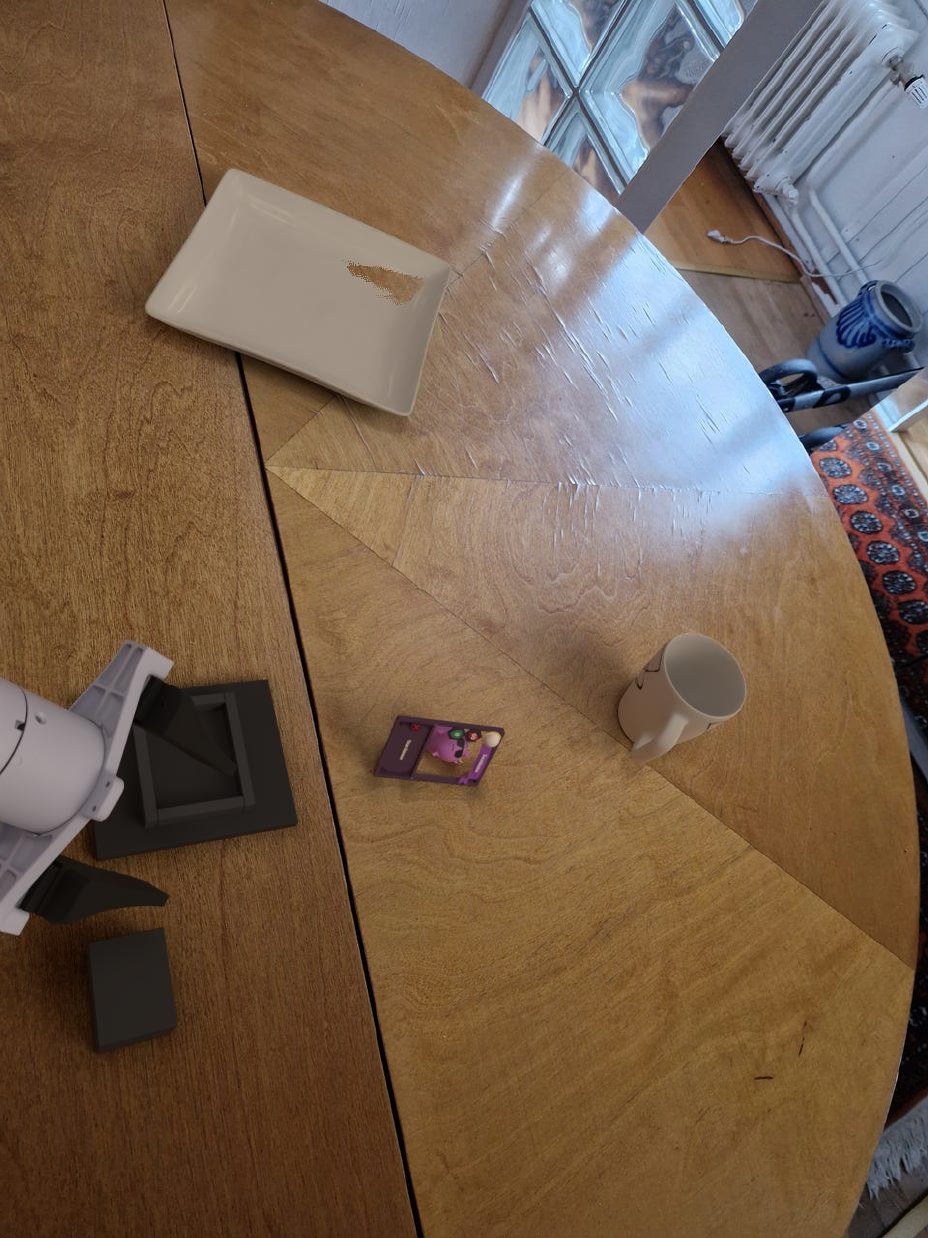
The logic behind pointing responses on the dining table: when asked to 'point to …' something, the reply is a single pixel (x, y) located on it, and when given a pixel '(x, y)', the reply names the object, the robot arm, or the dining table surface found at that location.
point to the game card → (435, 748)
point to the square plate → (303, 292)
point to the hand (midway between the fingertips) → (190, 829)
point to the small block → (130, 989)
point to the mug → (680, 695)
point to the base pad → (202, 779)
